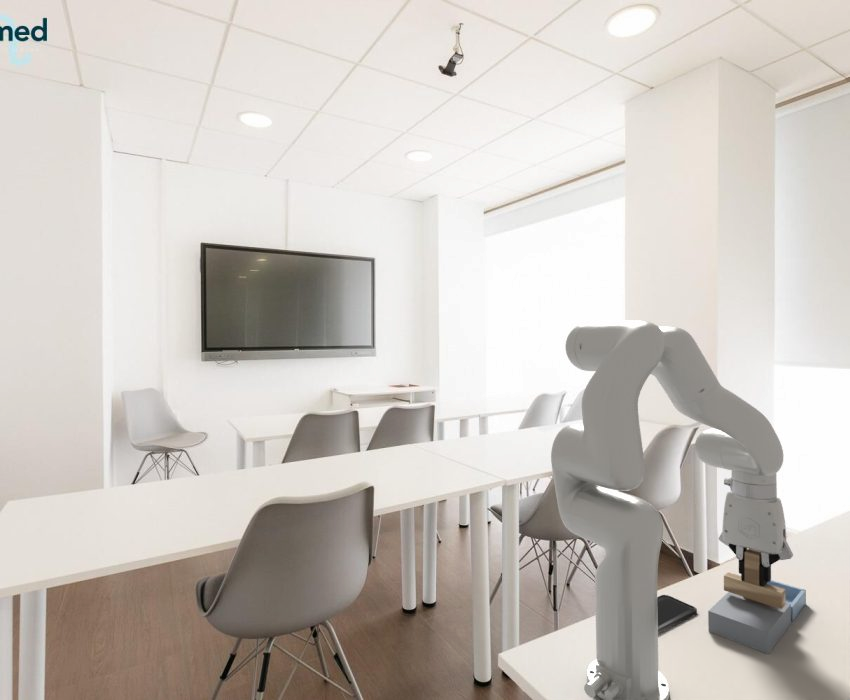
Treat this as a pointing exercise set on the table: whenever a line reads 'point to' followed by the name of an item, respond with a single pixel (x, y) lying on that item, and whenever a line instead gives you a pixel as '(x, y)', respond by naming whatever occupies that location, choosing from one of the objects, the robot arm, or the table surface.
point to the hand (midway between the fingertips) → (754, 580)
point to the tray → (792, 597)
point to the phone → (672, 612)
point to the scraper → (754, 583)
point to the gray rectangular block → (749, 621)
